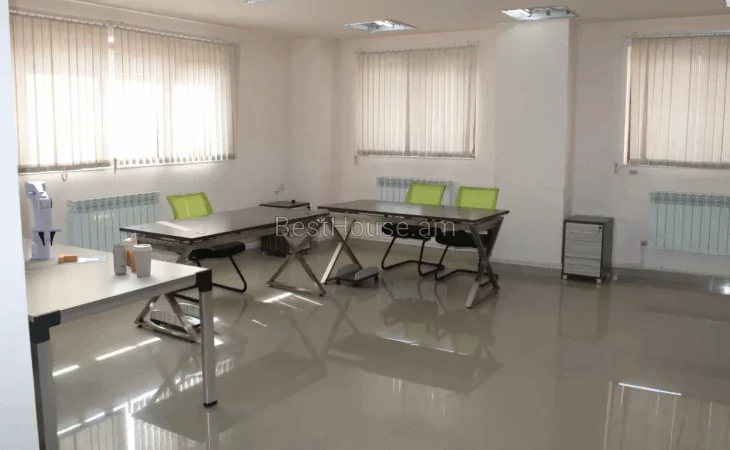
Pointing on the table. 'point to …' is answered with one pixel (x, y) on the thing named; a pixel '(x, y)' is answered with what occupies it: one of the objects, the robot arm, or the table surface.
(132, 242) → the ink cartridge box
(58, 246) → the table surface
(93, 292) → the table surface
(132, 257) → the arch
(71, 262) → the board
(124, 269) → the energy drink can
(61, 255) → the t block
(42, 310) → the table surface
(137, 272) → the coffee cup
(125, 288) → the table surface
